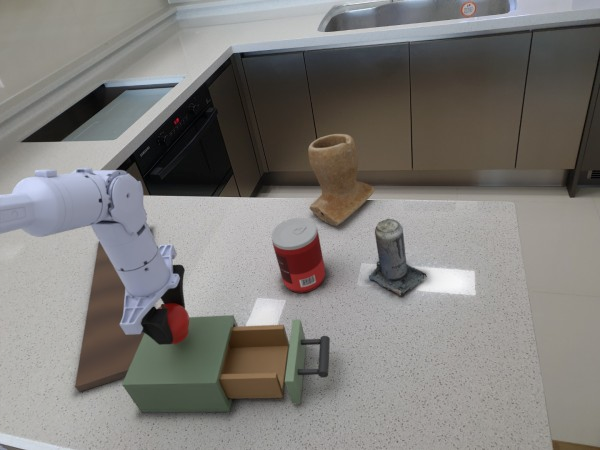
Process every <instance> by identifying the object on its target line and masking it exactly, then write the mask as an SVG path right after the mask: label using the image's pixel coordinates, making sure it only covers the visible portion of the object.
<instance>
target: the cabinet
mask: <svg viewBox="0 0 600 450" xmlns="http://www.w3.org/2000/svg"><path fill="white" fill-rule="evenodd" d="M234 315H235V314H232V315H231V314H230V315H209V316H189V327H188V329H189V332H188V335H187V337H186V338H185V339H184V340H183V341H181V342H179V343H176V344H163V345H159V344H158V343H157V342H155V341H154V340H153V339H152V338H151V337H149V336H148V335H147V334H145V333H144V336H143V338H142V340H141V343H140V345H139V347H138V349H137V352H136V354H135V356H134V358H133V361H132V363H131V365H130V367H129V370H128V372H127V374H126V377H125V378H123V382H122V383H121V386H122V387H123V389H124V390H125V392H126V393H127V394H128V396H129V397H130V398H131V400H132V401H133V403H134V404H135V406H136V408H138V409H139V412H141V413H217V412H218V413H219V412H223V413H224V412H225V413H227V412H228V413H229V412H231V408H232V403H233V399H234V398H227V397H226V395H225V393H224V391H223V389H222V387H221V385H220V383H219V378H220V375H221V371H222V367H223V363H224V359H225V355H226V351H227V347H228V343H229V340H230V336H231V332H232V328H233V327H239V325H238V323H237V320H236V317H235V316H234Z"/></svg>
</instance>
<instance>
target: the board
mask: <svg viewBox="0 0 600 450" xmlns="http://www.w3.org/2000/svg"><path fill="white" fill-rule="evenodd" d="M147 225H148V227H149V229H150V226H149V224H148V223H147ZM150 230H151V229H150ZM97 245H98V246H97V250H96V256H95V263H94V269H93V275H92V280H91V281H92V282H91V287H90V293H89V300H88V305H87V311H86V318H85V324H84V329H83V335H82V342H81V349H80V355H79V360H78V367H77V373H76V379H75V385H74V388H75V389H76V390H77V391H78V392H79V393H82V392H84V391H88V390H91V389H94V388H96V387H99V386H103V385H107V384H109V383H112V382H115V381H118V380H121V379H122V380H123V379H125V377H126V374H127V372H128V370H129V367H130V365H131V363H132V361H133V358H134V356H135V354H136V352H137V349H138V347H139V345H140V343H141V340H142V338H143V336H144V332H141V334H132V335H130V334H127V335H126V334H125V333H124V331H123V329H122V328H121V326H120V322H121V320H122V317H123V311H124V300H125V286H124V284H123V282H122V281H121V279H120V277H119V275H118V273H117V272H116V270H115V268H114V266H113V264H112V263H111V261H110V259H109V257H108V256H107V254H106V252H105V250H104V248H103V247H102V245H101V243H100V241H99V240H98V244H97Z"/></svg>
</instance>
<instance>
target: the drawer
mask: <svg viewBox="0 0 600 450" xmlns="http://www.w3.org/2000/svg"><path fill="white" fill-rule="evenodd" d="M315 345H316V346H318V345H319V352H318V364H317V365H318V366H317V367H318V368H305V359H306V348H307V346H315ZM330 345H331V338H330V336H328V335H322V336H321V337H320V338H306V335H305V331H304V327H303V324H302V319H300V318H299V319H298V318H297V319H292V323H291V329H290V338H289V337H288V334H287V331H286V328H285V325H284V324H267V325H265V324H264V325H263V324H262V325H241V326H239V325H238V327H233V328H232V332H231V336H230V340H229V343H228V347H227V351H226V355H225V359H224V363H223V367H222V371H221V375H220V378H219V383H220V385H221V387H222V389H223V391H224V393H225V395H226V397H227V398H233V399H283V397H284V391H285V387H286V389H287V393H288V396H289V399H290V402H291V404H301V402H302V401H301V400H302V391H303V379H304V376H318V377H320V378H327V377H329V367H330Z"/></svg>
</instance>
